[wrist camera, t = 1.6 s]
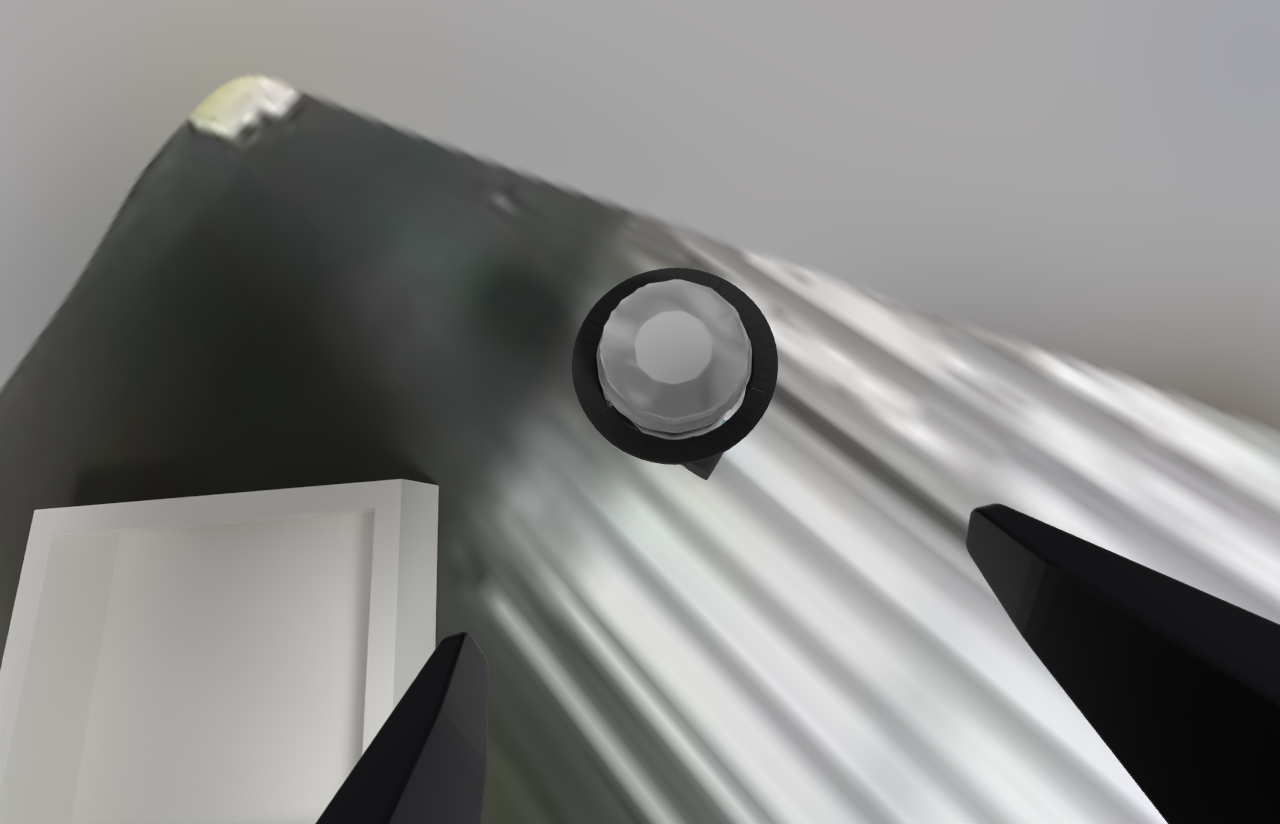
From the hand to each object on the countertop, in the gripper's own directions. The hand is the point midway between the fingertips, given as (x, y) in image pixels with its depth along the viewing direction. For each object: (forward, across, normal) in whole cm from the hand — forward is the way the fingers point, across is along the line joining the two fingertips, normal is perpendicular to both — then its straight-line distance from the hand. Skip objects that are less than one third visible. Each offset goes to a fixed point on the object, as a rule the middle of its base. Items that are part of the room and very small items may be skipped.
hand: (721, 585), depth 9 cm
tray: (+8, +19, +9) cm, 22 cm away
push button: (+13, 0, +5) cm, 13 cm away
